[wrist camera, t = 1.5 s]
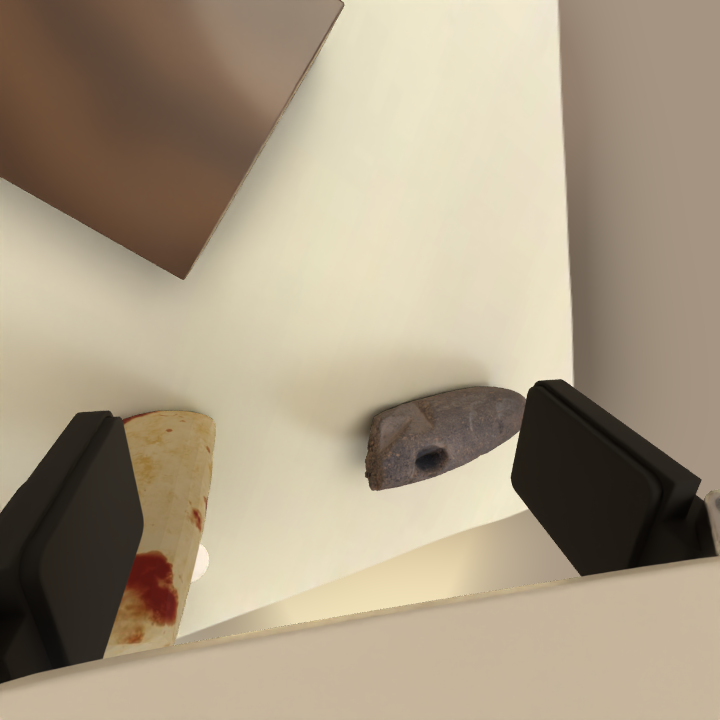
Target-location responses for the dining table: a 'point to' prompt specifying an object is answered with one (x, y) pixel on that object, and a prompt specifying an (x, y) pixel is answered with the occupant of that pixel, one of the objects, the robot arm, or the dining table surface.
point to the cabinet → (149, 108)
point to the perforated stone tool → (439, 434)
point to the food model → (164, 525)
